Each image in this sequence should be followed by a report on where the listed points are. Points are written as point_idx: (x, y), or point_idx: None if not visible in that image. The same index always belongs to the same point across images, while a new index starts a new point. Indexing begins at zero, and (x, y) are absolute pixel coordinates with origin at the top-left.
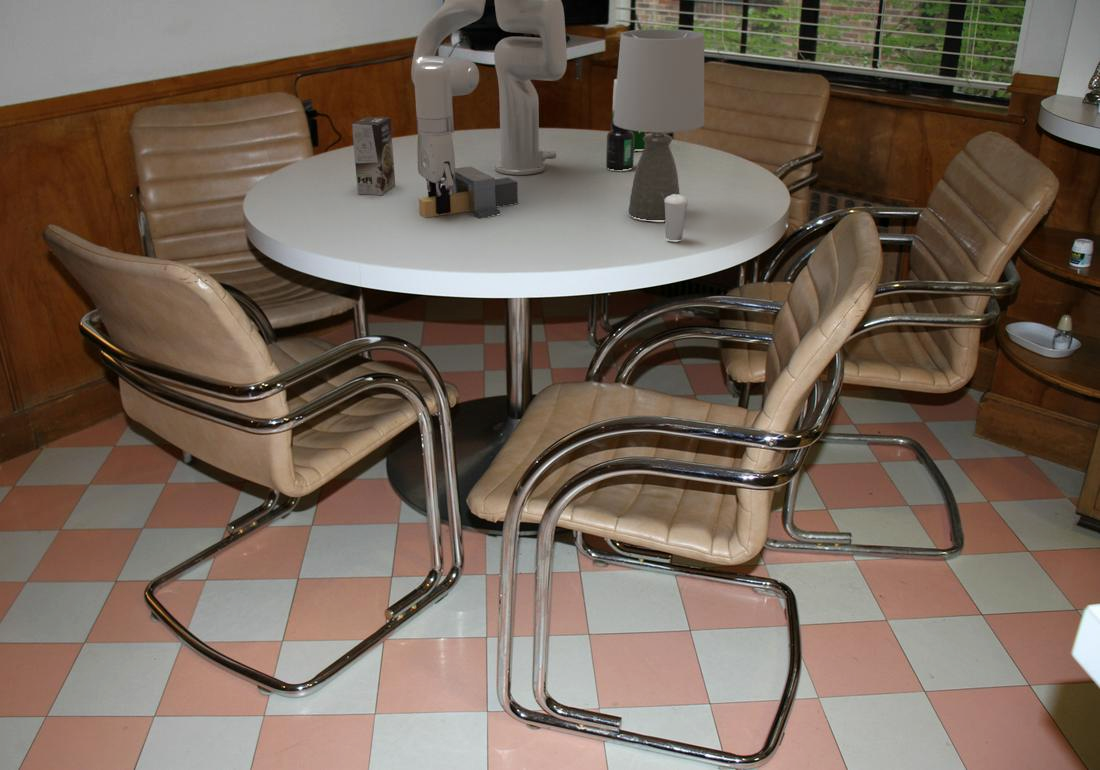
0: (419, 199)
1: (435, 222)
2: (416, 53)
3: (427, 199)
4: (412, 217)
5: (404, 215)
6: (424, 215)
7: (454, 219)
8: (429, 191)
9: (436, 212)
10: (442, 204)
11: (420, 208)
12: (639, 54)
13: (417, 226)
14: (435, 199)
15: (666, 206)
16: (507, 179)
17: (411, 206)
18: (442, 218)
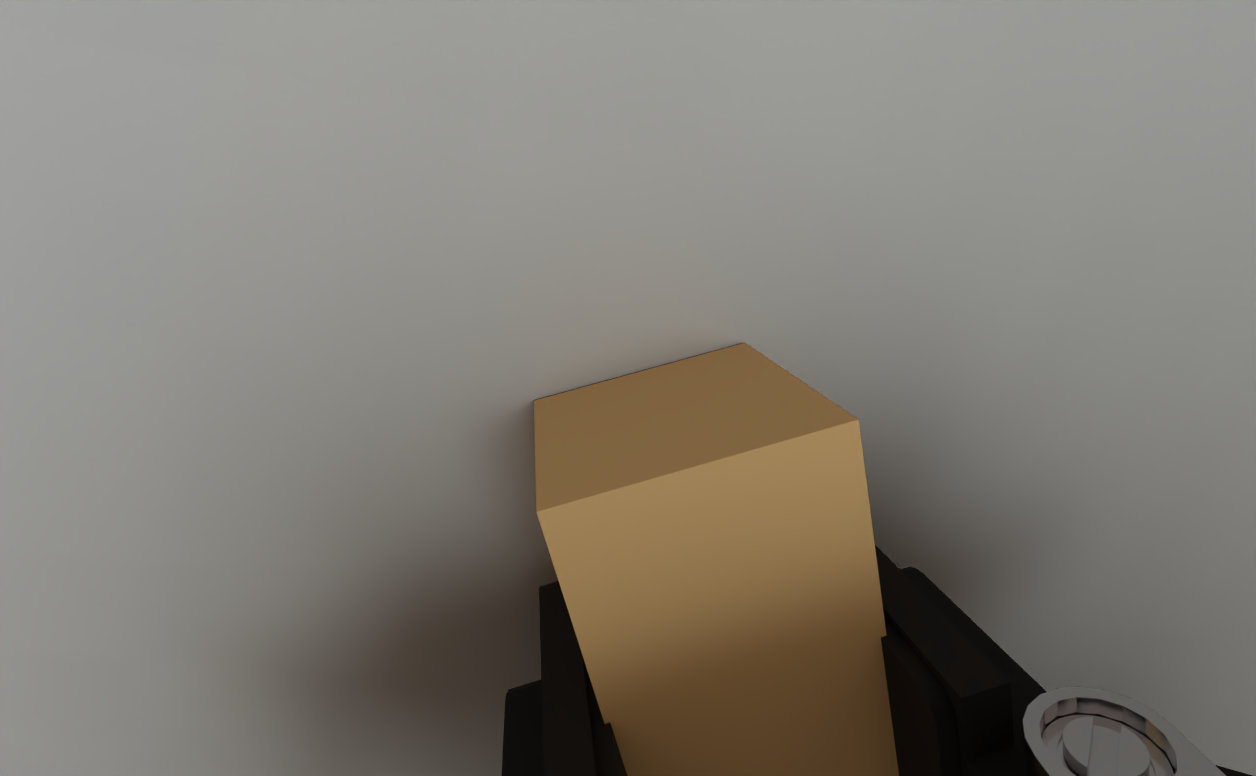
0: (811, 428)
1: (259, 509)
2: None
3: (721, 583)
4: (607, 210)
5: (754, 99)
6: (566, 398)
7: (366, 739)
8: (984, 711)
9: None
10: (507, 769)
11: (731, 380)
12: None
13: (48, 211)
14: (672, 719)
15: None
16: None
17: (1137, 281)
18: (447, 610)
